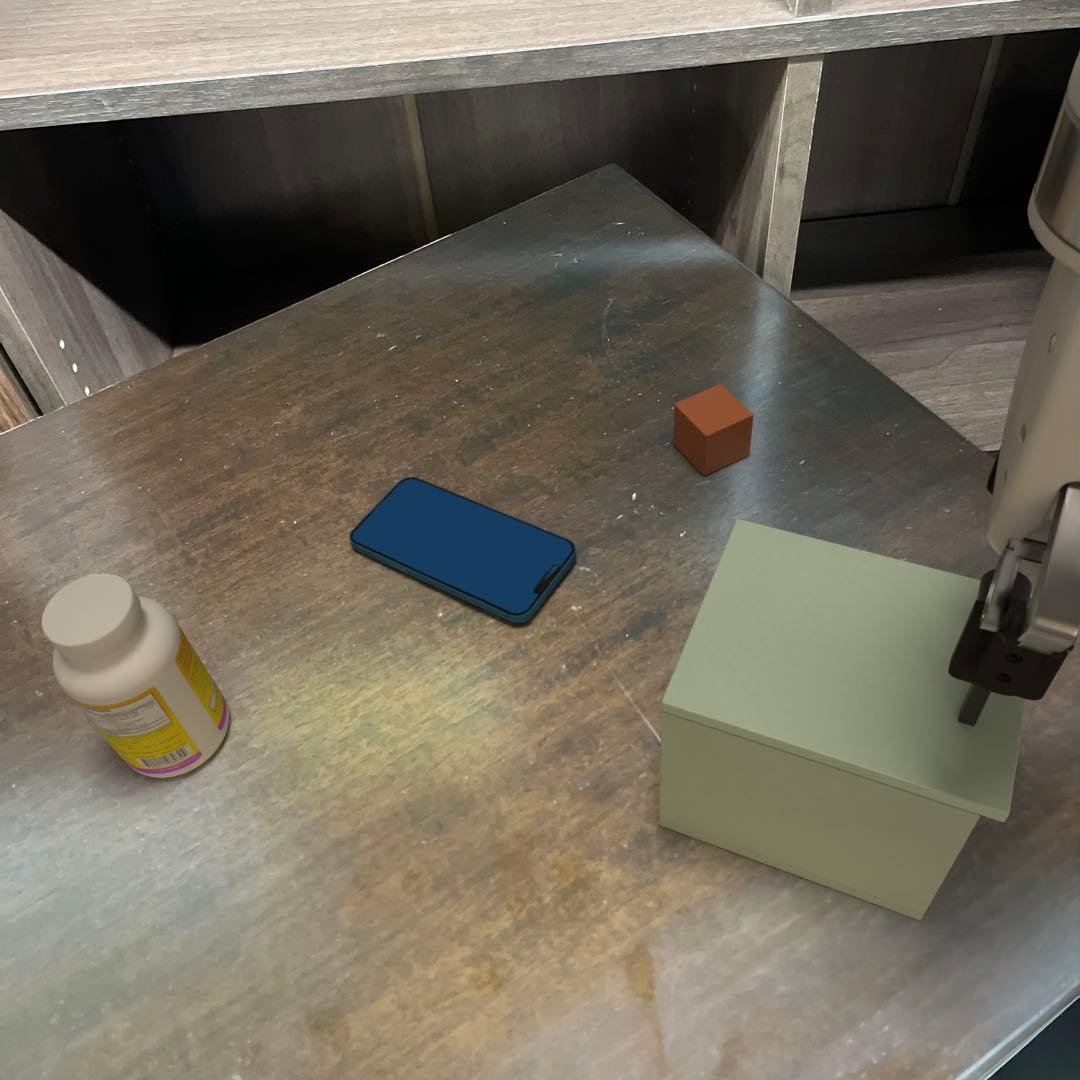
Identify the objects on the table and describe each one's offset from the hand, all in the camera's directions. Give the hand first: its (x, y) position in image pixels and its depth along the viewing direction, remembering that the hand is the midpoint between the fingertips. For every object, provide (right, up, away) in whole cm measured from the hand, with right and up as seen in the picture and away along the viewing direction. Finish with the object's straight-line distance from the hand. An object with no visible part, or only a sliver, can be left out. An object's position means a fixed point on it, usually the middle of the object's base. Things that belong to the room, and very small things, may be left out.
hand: (1010, 583), depth 39 cm
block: (-6, +8, +34) cm, 35 cm away
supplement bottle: (-40, -10, +22) cm, 47 cm away
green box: (-3, -11, +17) cm, 20 cm away
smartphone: (-24, +1, +30) cm, 38 cm away
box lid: (-4, -4, +7) cm, 9 cm away
